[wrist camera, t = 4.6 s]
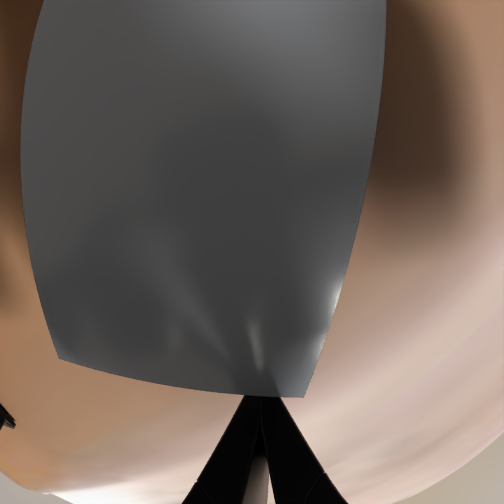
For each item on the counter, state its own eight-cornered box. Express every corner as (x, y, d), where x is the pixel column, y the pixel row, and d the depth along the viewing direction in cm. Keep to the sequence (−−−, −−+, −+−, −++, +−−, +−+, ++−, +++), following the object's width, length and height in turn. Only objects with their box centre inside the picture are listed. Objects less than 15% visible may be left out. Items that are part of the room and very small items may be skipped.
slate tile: (293, 341, 9) (303, 397, 7) (90, 313, 9) (58, 358, 7) (352, -74, 4) (375, -112, 1) (129, -81, 3) (103, -114, 1)
